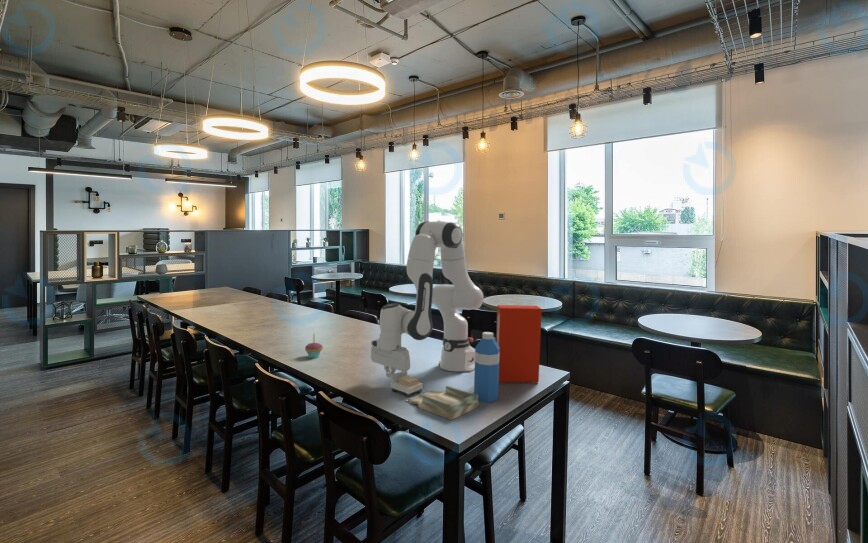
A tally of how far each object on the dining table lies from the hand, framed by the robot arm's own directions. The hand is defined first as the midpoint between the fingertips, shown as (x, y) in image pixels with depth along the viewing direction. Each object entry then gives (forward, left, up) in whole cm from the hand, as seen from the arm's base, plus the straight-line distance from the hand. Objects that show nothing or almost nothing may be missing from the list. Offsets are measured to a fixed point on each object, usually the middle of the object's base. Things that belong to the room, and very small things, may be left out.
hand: (390, 376), depth 168 cm
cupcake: (-1, -57, -4) cm, 57 cm away
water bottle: (-17, +36, -4) cm, 40 cm away
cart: (0, +10, -4) cm, 10 cm away
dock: (0, +27, -5) cm, 28 cm away
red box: (-43, +34, -4) cm, 55 cm away
